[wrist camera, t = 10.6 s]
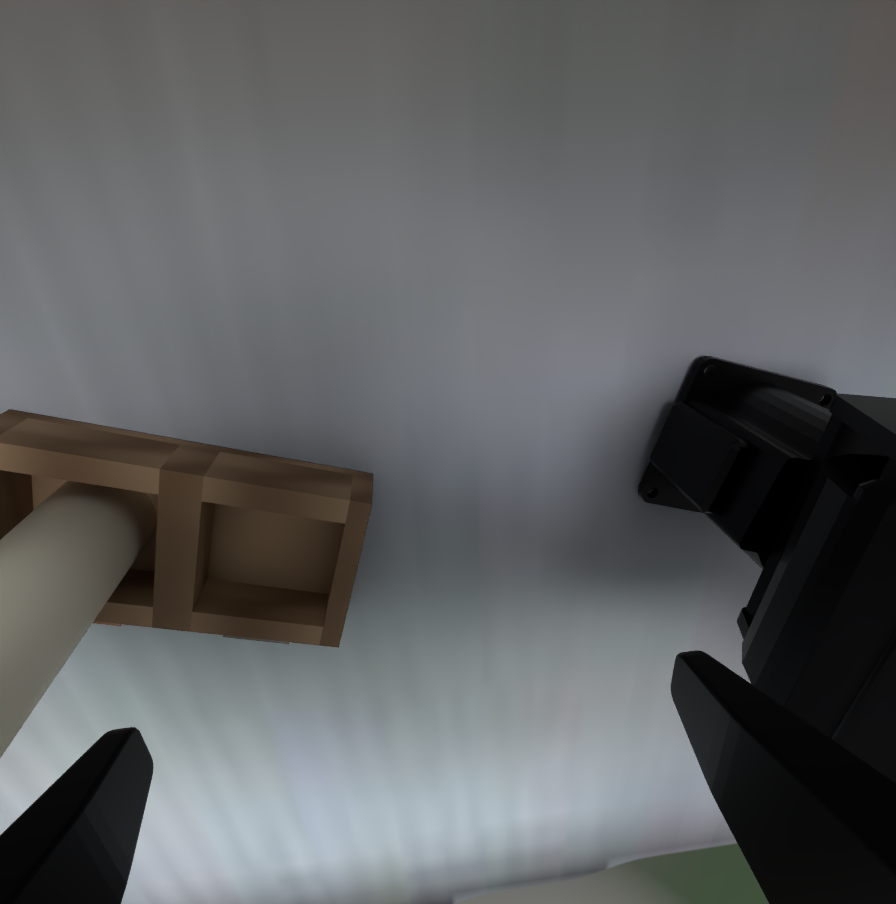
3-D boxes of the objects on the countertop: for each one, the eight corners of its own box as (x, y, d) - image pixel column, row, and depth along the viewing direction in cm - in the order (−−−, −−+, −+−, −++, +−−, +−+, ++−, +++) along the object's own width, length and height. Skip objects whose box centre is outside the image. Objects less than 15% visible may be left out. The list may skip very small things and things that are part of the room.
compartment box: (372, 473, 21) (371, 504, 19) (341, 612, 24) (337, 652, 22) (9, 409, 19) (-39, 436, 17) (21, 574, 22) (-19, 615, 19)
